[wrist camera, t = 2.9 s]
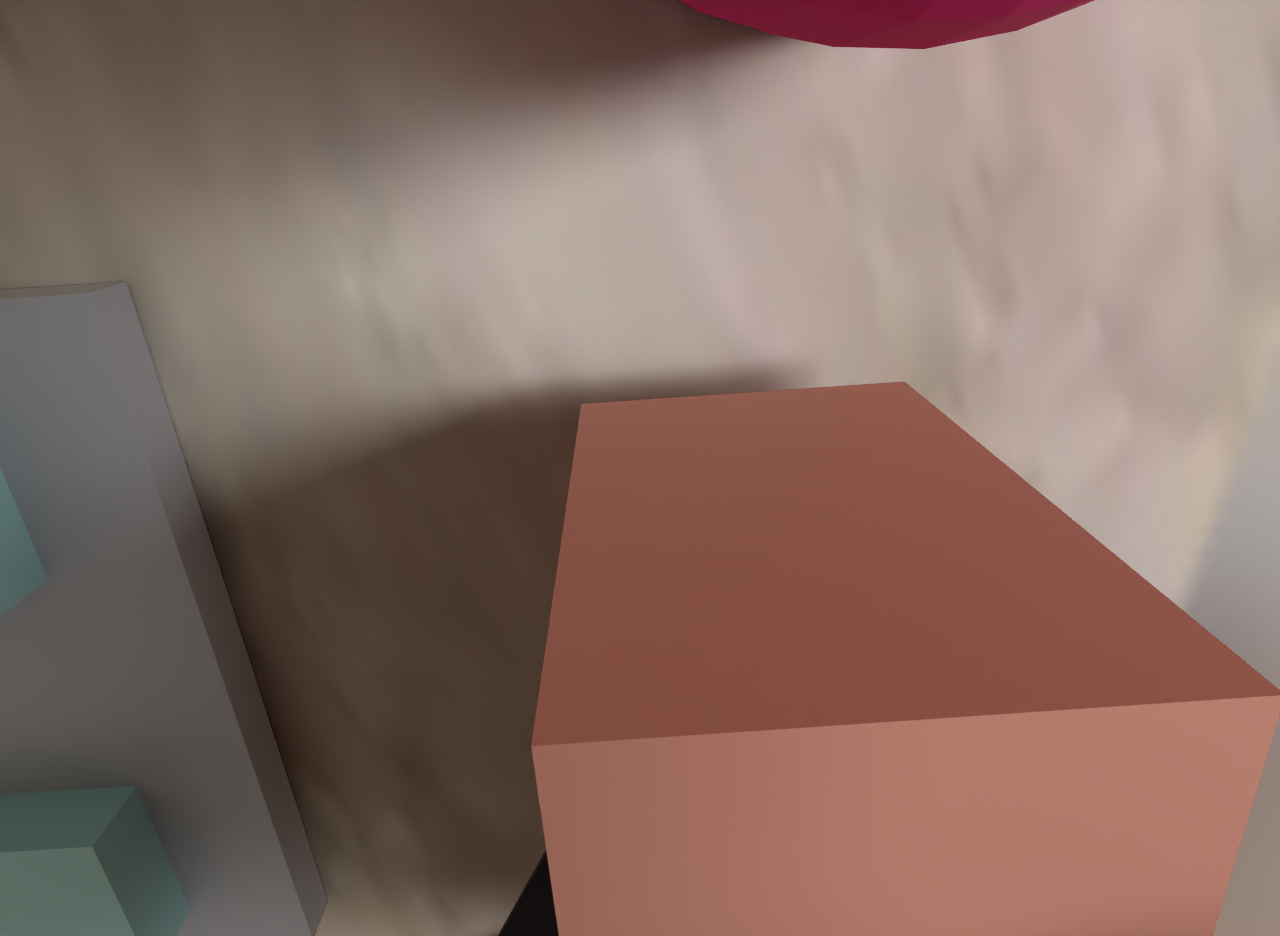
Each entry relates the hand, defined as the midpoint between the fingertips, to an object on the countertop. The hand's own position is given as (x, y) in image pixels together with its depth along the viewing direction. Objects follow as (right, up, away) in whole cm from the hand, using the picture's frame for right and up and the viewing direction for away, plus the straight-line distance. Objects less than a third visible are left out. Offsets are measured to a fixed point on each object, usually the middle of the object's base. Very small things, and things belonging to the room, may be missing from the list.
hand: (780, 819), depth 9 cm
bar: (0, 0, +3) cm, 3 cm away
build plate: (-12, +1, +4) cm, 13 cm away
